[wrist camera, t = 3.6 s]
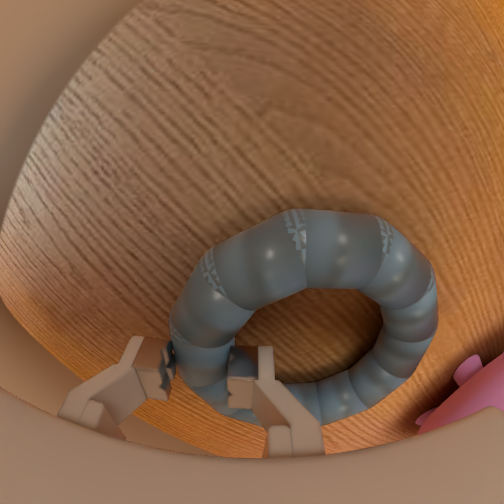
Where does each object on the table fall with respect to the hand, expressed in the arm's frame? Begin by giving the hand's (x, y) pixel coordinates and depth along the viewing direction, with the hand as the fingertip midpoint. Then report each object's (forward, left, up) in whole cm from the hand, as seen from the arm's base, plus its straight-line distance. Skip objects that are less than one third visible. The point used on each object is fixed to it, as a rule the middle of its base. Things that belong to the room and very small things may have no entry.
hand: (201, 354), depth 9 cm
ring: (0, +4, 0) cm, 4 cm away
